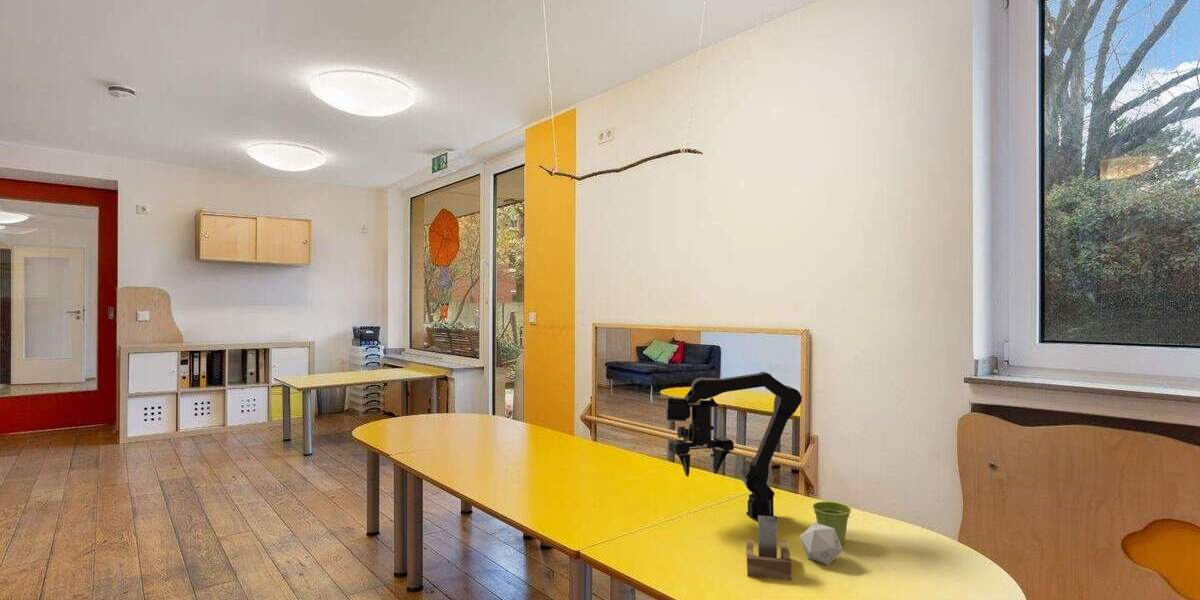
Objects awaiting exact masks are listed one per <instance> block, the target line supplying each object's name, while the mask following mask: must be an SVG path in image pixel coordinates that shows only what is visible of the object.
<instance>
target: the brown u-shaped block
mask: <svg viewBox="0 0 1200 600" xmlns="http://www.w3.org/2000/svg"><path fill="white" fill-rule="evenodd" d="M745 540H746V541H745V542H746V544H745V545H746V546H745V547H746V552H745V553H746V571H747V572H746V573H747V577H751V578H752V577H754V578H762V579H763V578H765V579H776V580H785V581H792V559H791V555H790V550H789V545H788V540H781V539H779V549H780V550H779V557H777V558H769V557H758V555H756V556H755V554H754V542H753V541H754V540H753V537H746V538H745Z"/></svg>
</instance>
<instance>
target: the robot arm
mask: <svg viewBox="0 0 1200 600" xmlns="http://www.w3.org/2000/svg"><path fill="white" fill-rule="evenodd" d="M762 387H763V388H765V389H767V390H768V391H769V392H770V393H771V394H772V395H775V396H774V400H773V401H774V402H773V412H772V415H771V418H770V419H769V422H768V425H767V427H766V430H765V433H764V434H763V437H762V439H761V442H760V444H759V446H758V449H757V452H756V454H755V456H754V458H753V459H752V460H751V461H750V460H748V459H745V462H744V467H743V468H742V469H741V470H740V472H741V474H742V475H741V480H742V482H743V484H744V485H745V487H746V488H747V490H748V491H749V492H751V493H750V494H748V500H747V511H746V513H745V514H746V515H747V516H749V517H750V518H752V519H753V520H754V521H756V522H758V515H760V516H775V517H776V520H777V516H776V515H775V513H774V510H775V508H774V497H775V492H774V491H773V489H772V488H771V487H770V486H769V484H768V479H769V473H770V472H769V470H770V463H771V461H772V459H773V456H774V454H775V451H776V449H777V447H778V445H779V441H780V439H781V437H782V435H783V432H784V430H785V427H786V425H787V422H788V420H789V419H791V417H792V416H793V415H794V414H795V413H796V412H797V409H798V408H799V407H800V405H801V404H802V399H803V397H802V395H801V392H800V391H799V390H798V389H796V388H794V387H792V386H790V385H785V384H783V383H782V382H780V381H779V380H778V379H776V378H775V377H773V375H771V373H768V372H766V371H761V372H758V373H757V372H756V373H752V374H745V375H736V376H731V377H723V378H717V377H697V378H694V379H693V381H692V382H691V385H690V390H689V391H688V393H687V394H686V395H685V396H684V397H683V398H682V397H680V398H679V397H672V396H671V397H667V402H666V407H665V415H666V422H687V420H688V419H690V417H691V423H689V424H688V428H686V427H685V426H678V427H677V431H676V433H677V438H678V439H677V440H674V439H673V440H670V442H669V443H668V450H669V452H672V453H673V454H674V455H676V456H678V458H679V461H680V463H681V467H682V468H683V471H684V475H685V476H686V477H689V476H690V467H691V454H689V452H690V450H700V449H701V450H702V449H711V451H712V453H713V463H712V465H713V467H712V469H713V474H715V475H717V474H718V472H719V470H720V468H721V465H722V464H723V462H724V460H725V459H726V456H727V455H728V454H730V453H731V451H734V450H735V443H734V441H733V440H732V439H731V438H728V437H726V436H719V437H717V436H716V437H713V439H712V431H714V430H715V429H714V425H712V408H718V407H719V404H718V403H717V402H716V401H715V400H714V397H717V396H719V395H721V394H723V393H727V392H735V391H736V392H737V391H743V390H749V389H756V388H762ZM682 439H683V440H682Z"/></svg>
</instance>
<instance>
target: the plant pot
mask: <svg viewBox="0 0 1200 600" xmlns="http://www.w3.org/2000/svg"><path fill="white" fill-rule="evenodd" d="M812 508H813V510H814V514H815V517H816V518H815V519H816V523H818V524H821V525H825V526H828V527H832V528H834V529H835V531H836V534H837V536H838V539H839V541H840V543H841V545H843V544H845V540H846V534H847V526H848V521H849V520H848V519H849V518H850V514H851V512H852V509H851V508H850V507H849V506H848V505H846V504H843V503H840V502H834V501H818V502H814V503H813V504H812Z"/></svg>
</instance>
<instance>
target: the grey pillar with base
mask: <svg viewBox="0 0 1200 600" xmlns="http://www.w3.org/2000/svg"><path fill="white" fill-rule="evenodd" d="M775 516H776V515H774V516H760V515H758V521H757V528H758V529H757V530H758V531H757V534H758V535H757V537H758V538H757V540H758V541H757V542H758V544H757V545H758V549H757V552H758V553H757V554H758V555H757V557H769V558H778V545H777V544H778V541H777V539H778V538H777V536H778V535H777V534H778V533H777V532H778V531H777V528H778V527H777V519H776V517H777V516H776V517H775Z"/></svg>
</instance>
